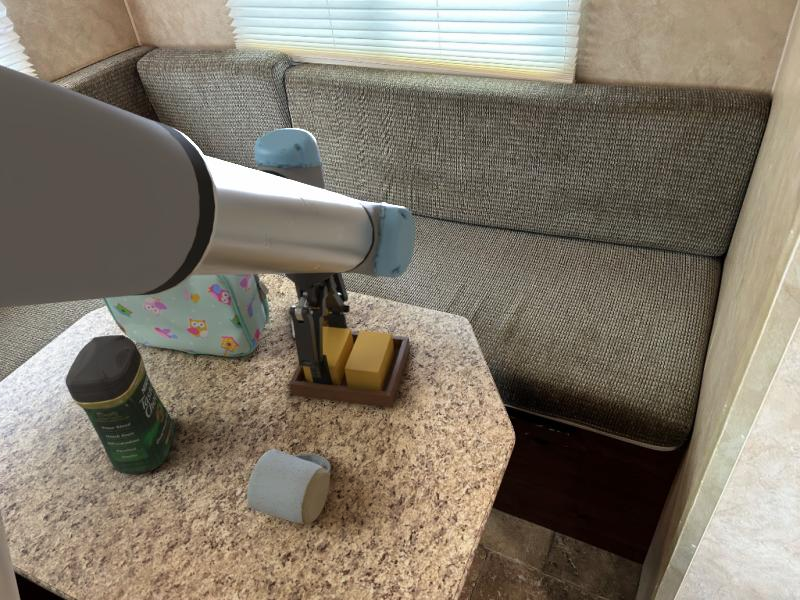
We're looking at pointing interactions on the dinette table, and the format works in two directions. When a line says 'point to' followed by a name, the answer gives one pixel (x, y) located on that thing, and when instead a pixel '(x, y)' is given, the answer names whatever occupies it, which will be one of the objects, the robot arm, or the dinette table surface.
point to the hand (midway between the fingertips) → (332, 364)
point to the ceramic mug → (289, 485)
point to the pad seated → (370, 360)
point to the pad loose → (335, 352)
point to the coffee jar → (121, 403)
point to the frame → (355, 394)
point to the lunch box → (197, 315)
